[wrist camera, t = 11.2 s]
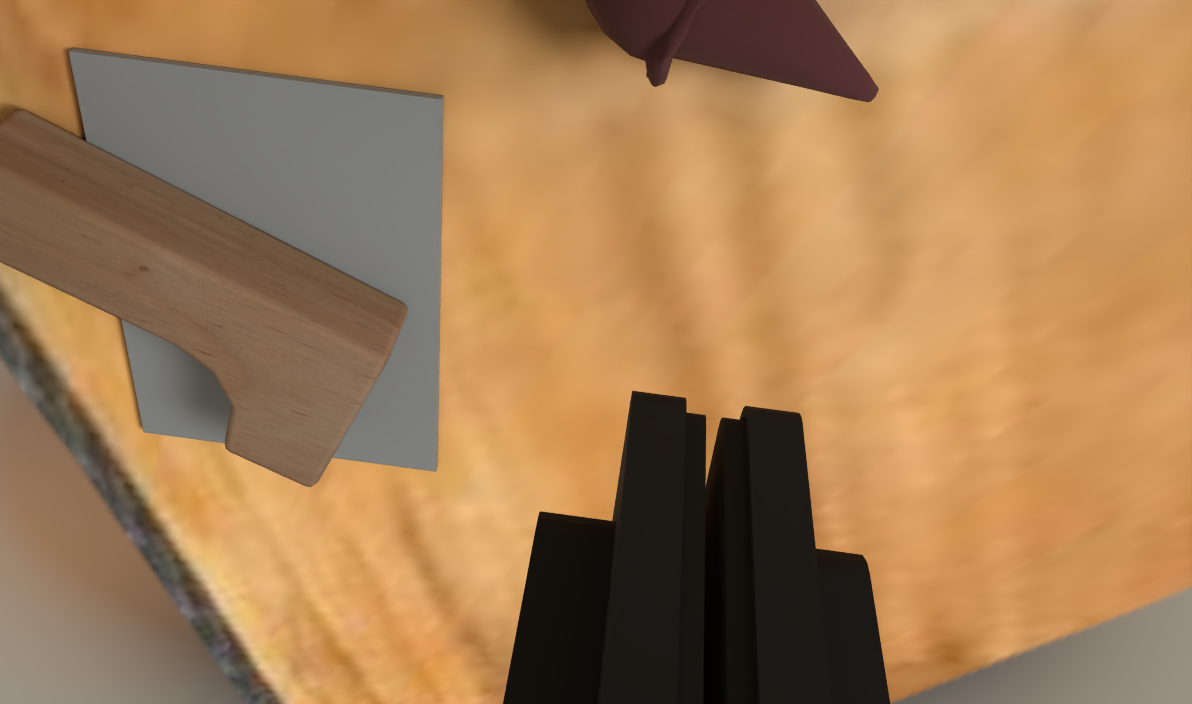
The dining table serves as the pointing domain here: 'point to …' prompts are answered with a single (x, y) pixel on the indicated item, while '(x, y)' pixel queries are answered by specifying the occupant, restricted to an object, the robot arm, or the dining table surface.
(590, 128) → the dining table surface
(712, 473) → the robot arm
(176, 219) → the wooden block
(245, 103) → the mat
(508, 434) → the dining table surface
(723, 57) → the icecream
